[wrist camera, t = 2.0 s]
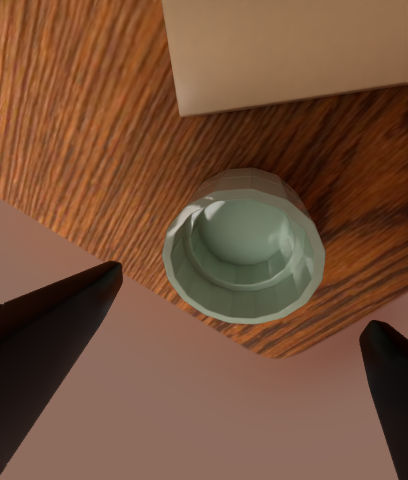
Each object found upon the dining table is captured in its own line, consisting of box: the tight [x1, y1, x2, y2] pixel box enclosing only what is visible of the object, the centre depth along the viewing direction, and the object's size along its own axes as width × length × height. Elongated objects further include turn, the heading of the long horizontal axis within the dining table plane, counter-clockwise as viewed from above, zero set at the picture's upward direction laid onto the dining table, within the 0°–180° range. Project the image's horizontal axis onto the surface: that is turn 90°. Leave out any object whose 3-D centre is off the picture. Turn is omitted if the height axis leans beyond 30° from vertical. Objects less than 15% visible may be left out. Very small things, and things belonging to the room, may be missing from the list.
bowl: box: [162, 167, 326, 324], centre depth 12 cm, size 7×7×4 cm
